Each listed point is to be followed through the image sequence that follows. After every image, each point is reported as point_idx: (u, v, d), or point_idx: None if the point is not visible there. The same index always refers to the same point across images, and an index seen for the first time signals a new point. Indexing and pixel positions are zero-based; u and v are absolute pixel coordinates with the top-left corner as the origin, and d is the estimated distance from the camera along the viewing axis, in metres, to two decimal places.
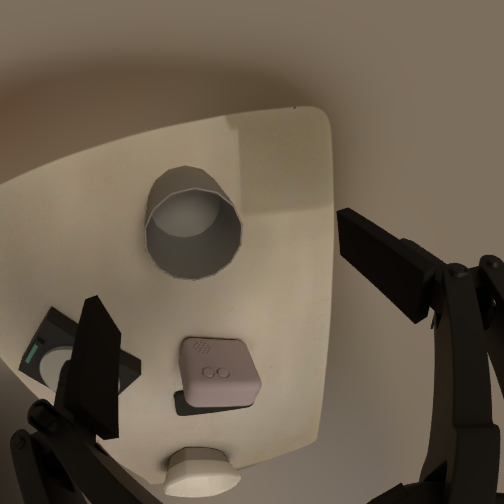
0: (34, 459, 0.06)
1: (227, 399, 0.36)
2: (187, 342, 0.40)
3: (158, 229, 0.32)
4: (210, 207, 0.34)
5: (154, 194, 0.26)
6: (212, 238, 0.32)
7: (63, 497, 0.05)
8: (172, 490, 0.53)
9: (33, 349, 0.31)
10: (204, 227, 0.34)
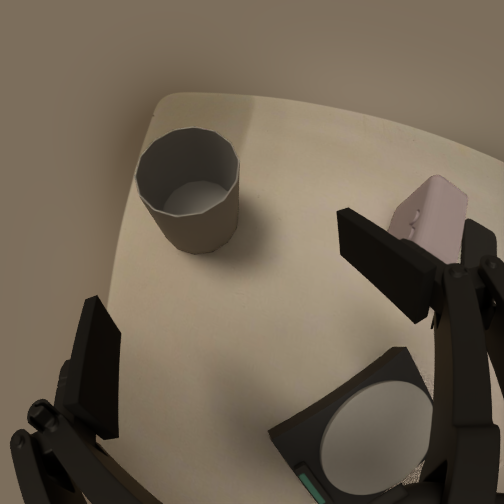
0: (34, 459, 0.06)
1: (450, 217, 0.22)
2: None
3: (212, 246, 0.30)
4: (212, 191, 0.32)
5: None
6: None
7: (63, 497, 0.05)
8: None
9: (306, 482, 0.21)
10: None
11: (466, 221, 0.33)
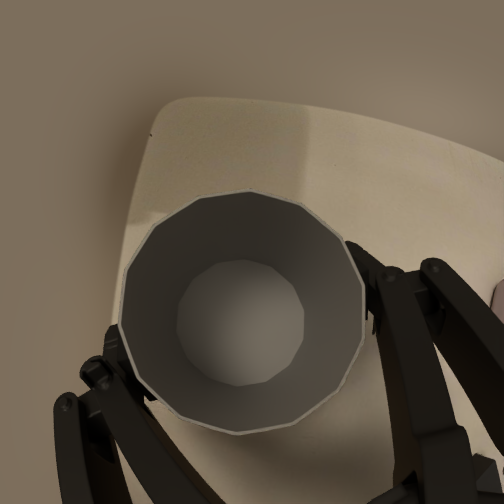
0: (79, 426, 0.07)
1: None
2: None
3: (269, 381, 0.17)
4: (261, 281, 0.19)
5: (165, 367, 0.12)
6: (308, 286, 0.16)
7: (101, 468, 0.06)
8: None
9: None
10: (294, 300, 0.19)
11: None
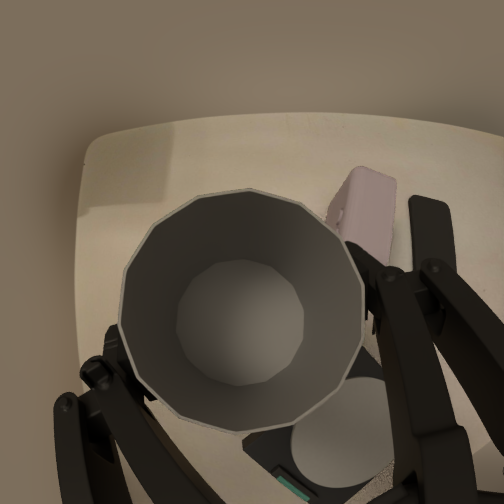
0: (79, 426, 0.07)
1: (377, 209, 0.24)
2: None
3: (268, 381, 0.17)
4: (260, 280, 0.19)
5: (165, 366, 0.12)
6: (307, 286, 0.16)
7: (101, 468, 0.06)
8: None
9: (285, 483, 0.23)
10: (294, 300, 0.19)
11: (411, 198, 0.35)
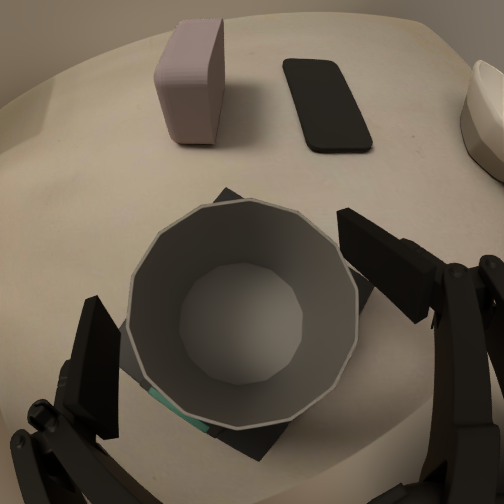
0: (34, 459, 0.06)
1: (195, 37, 0.19)
2: (169, 134, 0.26)
3: (268, 380, 0.17)
4: (260, 283, 0.20)
5: (169, 366, 0.13)
6: (306, 289, 0.17)
7: (63, 497, 0.05)
8: None
9: (162, 400, 0.18)
10: (293, 302, 0.19)
11: (284, 61, 0.31)
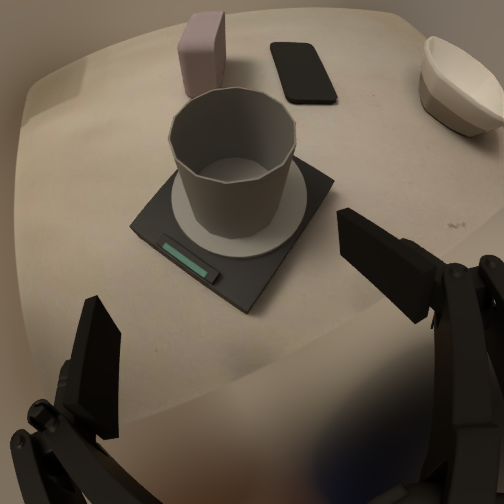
0: (34, 459, 0.06)
1: (205, 23, 0.28)
2: (185, 90, 0.34)
3: None
4: (248, 169, 0.28)
5: (185, 189, 0.21)
6: (276, 159, 0.25)
7: (63, 497, 0.05)
8: (502, 116, 0.30)
9: (172, 252, 0.26)
10: None
11: (271, 44, 0.39)
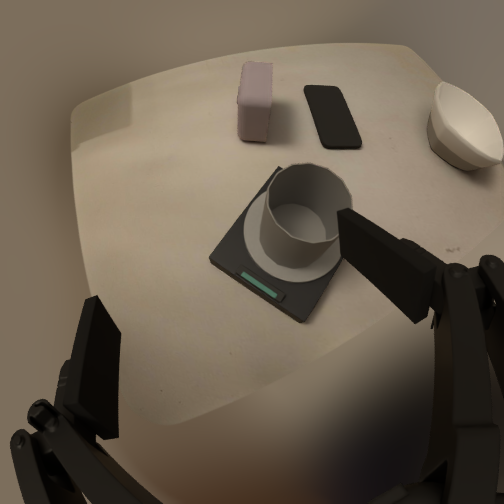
0: (34, 459, 0.06)
1: (259, 77, 0.37)
2: (238, 134, 0.43)
3: (310, 262, 0.34)
4: (303, 214, 0.37)
5: (270, 238, 0.30)
6: (328, 211, 0.34)
7: (63, 497, 0.05)
8: (496, 156, 0.39)
9: (249, 279, 0.35)
10: (320, 223, 0.37)
11: (305, 87, 0.48)
